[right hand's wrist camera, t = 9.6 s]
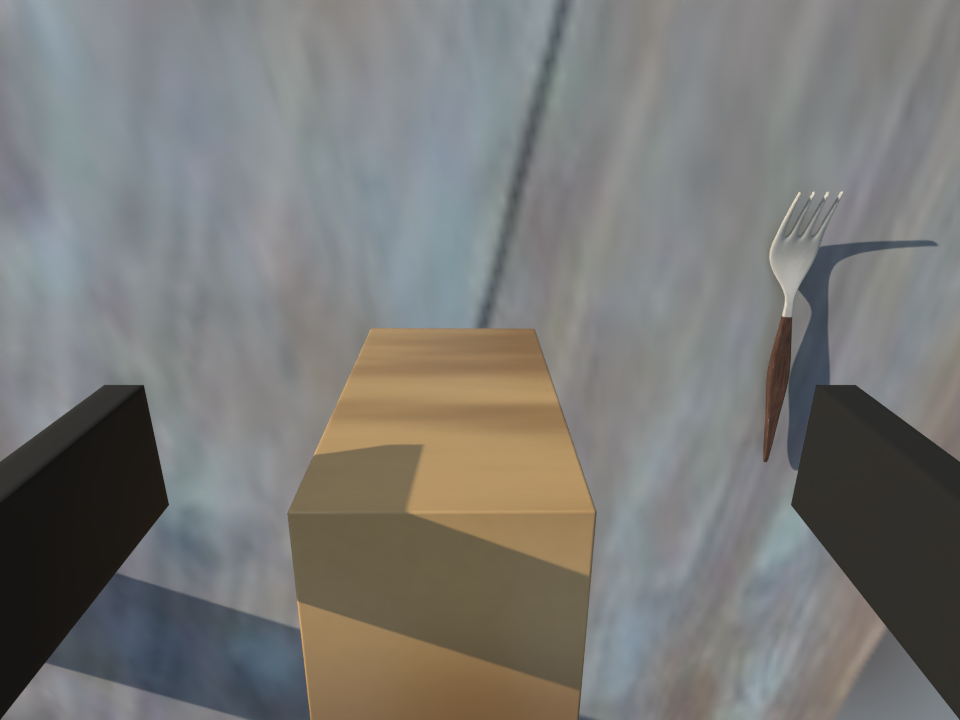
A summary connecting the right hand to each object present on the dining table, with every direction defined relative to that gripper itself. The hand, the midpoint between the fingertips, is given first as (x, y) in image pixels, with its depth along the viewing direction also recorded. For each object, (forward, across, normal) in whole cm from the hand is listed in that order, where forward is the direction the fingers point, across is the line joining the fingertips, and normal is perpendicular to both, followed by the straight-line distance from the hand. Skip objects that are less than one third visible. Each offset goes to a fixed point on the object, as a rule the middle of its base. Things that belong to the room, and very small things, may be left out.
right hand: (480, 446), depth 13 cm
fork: (+23, +17, -6) cm, 29 cm away
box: (+10, -1, -14) cm, 18 cm away
